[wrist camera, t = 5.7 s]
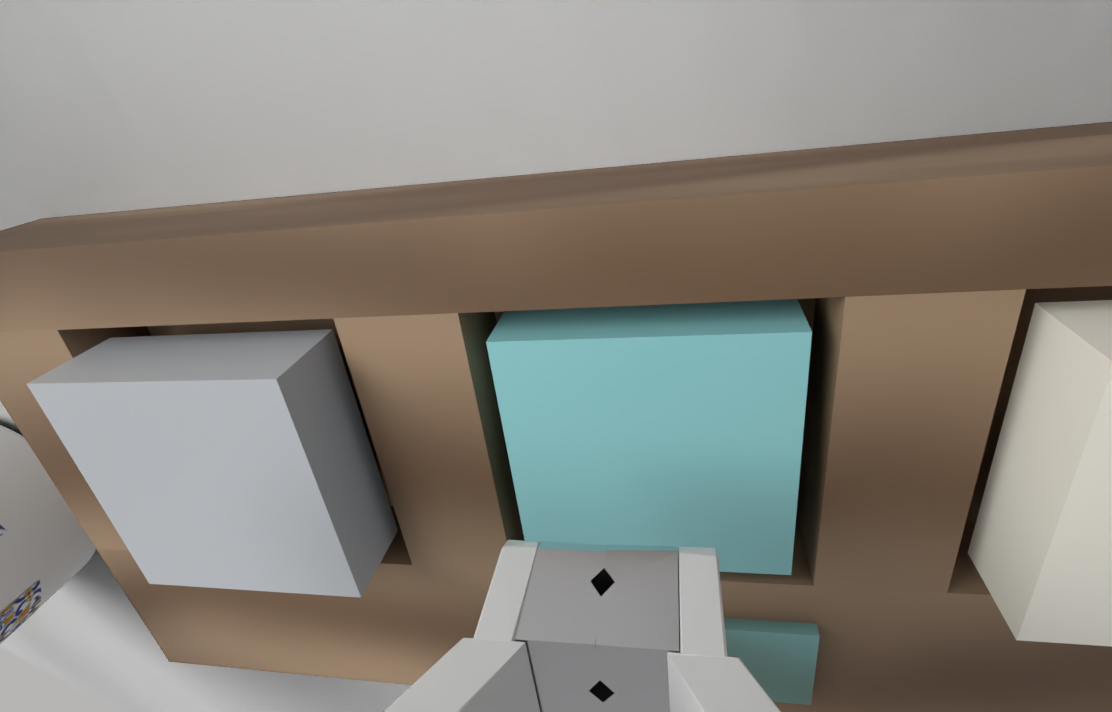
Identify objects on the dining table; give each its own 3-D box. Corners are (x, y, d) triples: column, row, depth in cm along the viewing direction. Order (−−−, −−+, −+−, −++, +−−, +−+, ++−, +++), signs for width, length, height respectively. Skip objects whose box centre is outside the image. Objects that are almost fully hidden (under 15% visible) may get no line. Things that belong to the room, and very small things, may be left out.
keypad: (40, 218, 15) (-108, 263, 12) (1667, 72, 9) (2144, 92, 6) (231, 583, 21) (162, 670, 18) (1281, 649, 15) (1426, 798, 12)
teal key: (512, 298, 12) (485, 342, 11) (791, 285, 11) (811, 331, 10) (545, 500, 15) (529, 562, 13) (776, 506, 14) (791, 575, 12)
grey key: (110, 337, 13) (26, 383, 12) (332, 329, 12) (276, 379, 10) (206, 523, 16) (149, 583, 14) (397, 530, 15) (361, 597, 13)
